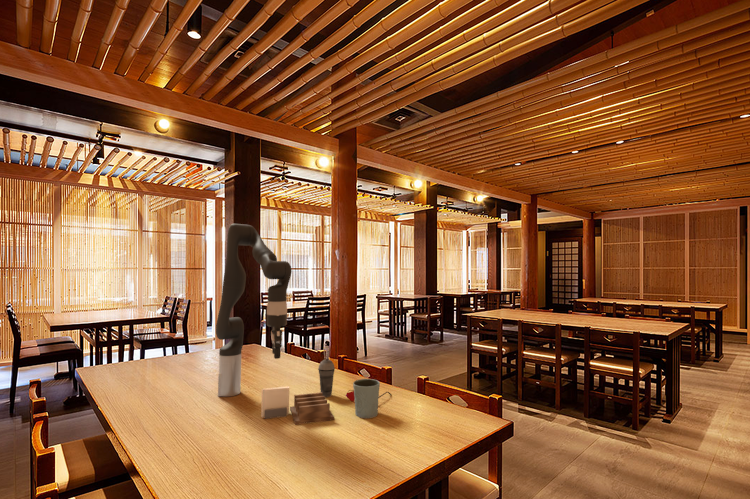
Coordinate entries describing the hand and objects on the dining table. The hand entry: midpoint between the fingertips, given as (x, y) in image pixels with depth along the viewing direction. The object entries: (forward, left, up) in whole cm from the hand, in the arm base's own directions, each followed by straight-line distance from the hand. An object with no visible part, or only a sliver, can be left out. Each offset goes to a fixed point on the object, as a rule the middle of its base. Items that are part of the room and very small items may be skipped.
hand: (276, 355), depth 148 cm
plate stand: (0, 0, -22) cm, 22 cm away
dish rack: (+13, -4, -22) cm, 26 cm away
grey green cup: (+33, -10, -22) cm, 41 cm away
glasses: (+40, +8, -23) cm, 47 cm away
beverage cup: (+23, +16, -22) cm, 36 cm away
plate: (0, 0, -22) cm, 22 cm away
